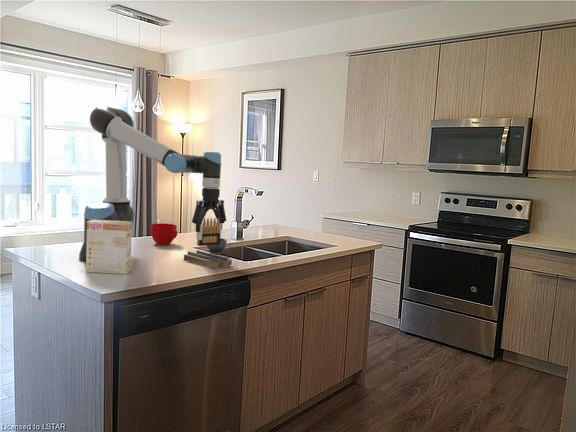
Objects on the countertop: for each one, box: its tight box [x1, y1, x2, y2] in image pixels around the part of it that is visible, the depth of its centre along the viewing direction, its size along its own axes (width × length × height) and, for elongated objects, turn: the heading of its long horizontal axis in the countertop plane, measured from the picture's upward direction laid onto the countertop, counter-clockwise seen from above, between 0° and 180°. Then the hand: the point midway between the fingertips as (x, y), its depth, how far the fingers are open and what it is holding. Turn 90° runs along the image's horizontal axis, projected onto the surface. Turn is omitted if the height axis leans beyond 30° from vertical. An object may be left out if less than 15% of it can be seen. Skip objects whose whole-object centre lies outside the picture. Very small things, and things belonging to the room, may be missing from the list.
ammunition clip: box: [196, 217, 220, 247], centre depth 202 cm, size 11×2×12 cm, turn 133°
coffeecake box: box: [85, 219, 133, 275], centre depth 177 cm, size 15×7×20 cm, turn 92°
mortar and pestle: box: [206, 237, 228, 256], centre depth 225 cm, size 11×9×12 cm
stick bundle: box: [183, 249, 233, 270], centre depth 204 cm, size 10×20×4 cm, turn 51°
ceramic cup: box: [150, 222, 178, 246], centre depth 240 cm, size 13×17×10 cm
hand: (208, 238), depth 203 cm, fingers closed on ammunition clip, 10 cm apart
